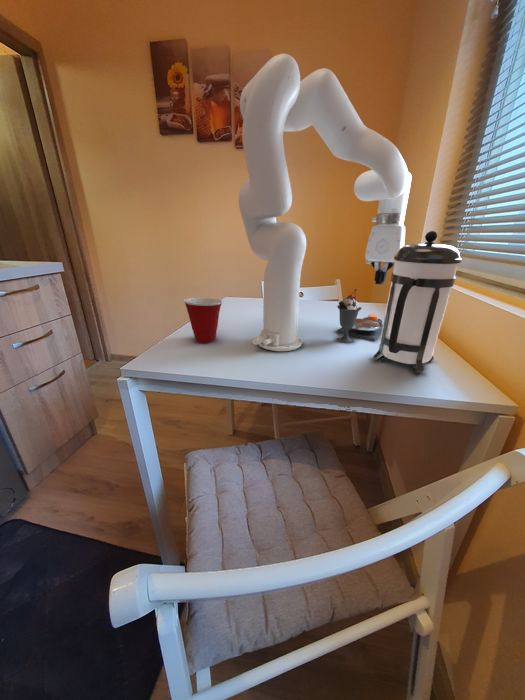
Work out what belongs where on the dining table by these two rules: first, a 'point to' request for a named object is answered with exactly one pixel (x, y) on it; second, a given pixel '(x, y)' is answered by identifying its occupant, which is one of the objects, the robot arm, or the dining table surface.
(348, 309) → the sundae
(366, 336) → the scale
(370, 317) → the tare button
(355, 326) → the pan
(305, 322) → the dining table surface
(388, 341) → the coffee press
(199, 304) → the plastic cup
